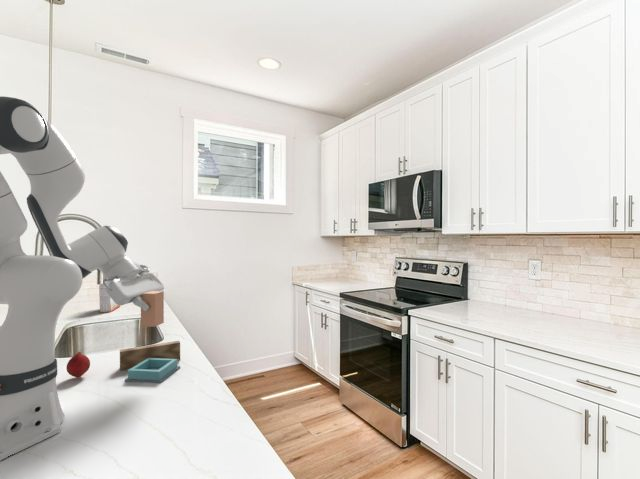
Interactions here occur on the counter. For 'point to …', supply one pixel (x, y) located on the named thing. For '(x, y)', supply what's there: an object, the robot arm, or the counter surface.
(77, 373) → the onion
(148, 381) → the tray
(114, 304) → the cracker box
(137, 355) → the walnut board
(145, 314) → the block
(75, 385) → the counter surface
